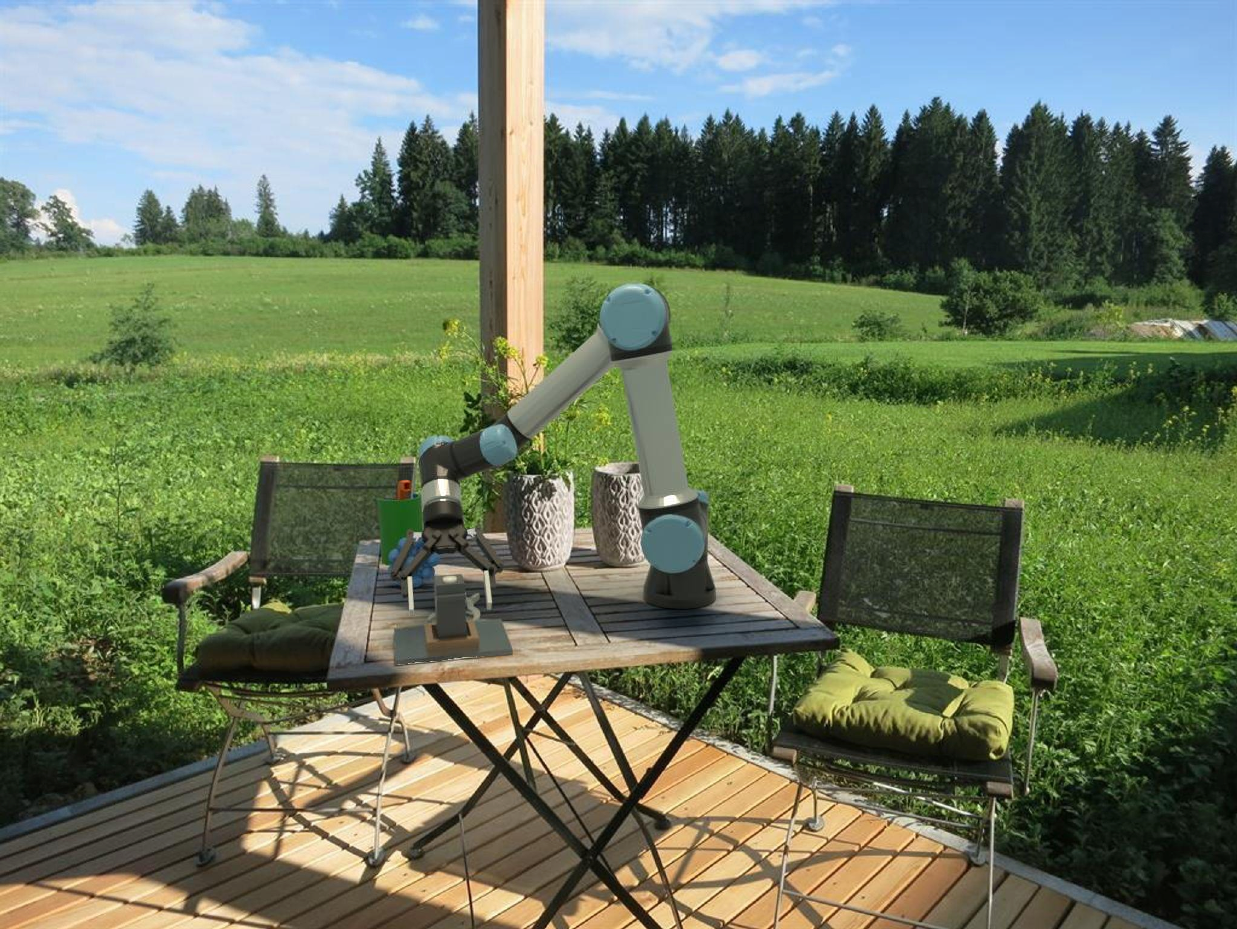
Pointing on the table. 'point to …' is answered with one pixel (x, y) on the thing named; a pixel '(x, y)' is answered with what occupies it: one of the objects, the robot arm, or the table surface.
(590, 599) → the table surface
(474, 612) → the pliers
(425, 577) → the grapes
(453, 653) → the plate
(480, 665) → the table surface
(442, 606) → the servo
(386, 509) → the green pencil holder
